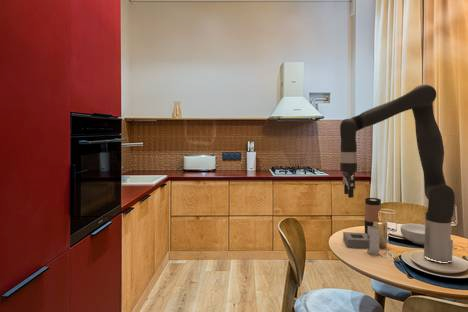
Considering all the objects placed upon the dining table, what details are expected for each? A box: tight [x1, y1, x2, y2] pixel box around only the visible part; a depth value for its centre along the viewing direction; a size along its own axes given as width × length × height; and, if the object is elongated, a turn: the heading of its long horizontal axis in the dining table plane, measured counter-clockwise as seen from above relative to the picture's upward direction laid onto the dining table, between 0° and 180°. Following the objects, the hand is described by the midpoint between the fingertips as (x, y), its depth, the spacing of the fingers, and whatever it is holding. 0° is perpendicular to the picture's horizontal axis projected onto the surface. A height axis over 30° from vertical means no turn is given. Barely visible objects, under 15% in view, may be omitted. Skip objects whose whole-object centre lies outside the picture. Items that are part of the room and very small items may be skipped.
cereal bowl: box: [400, 223, 425, 246], centre depth 150 cm, size 17×17×7 cm
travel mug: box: [364, 197, 382, 234], centre depth 158 cm, size 8×8×20 cm
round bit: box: [373, 220, 388, 250], centre depth 144 cm, size 6×6×12 cm
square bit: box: [366, 226, 380, 256], centre depth 136 cm, size 4×4×12 cm
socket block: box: [342, 231, 367, 250], centre depth 148 cm, size 11×11×4 cm
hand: (348, 195), depth 142 cm, fingers open, 8 cm apart
